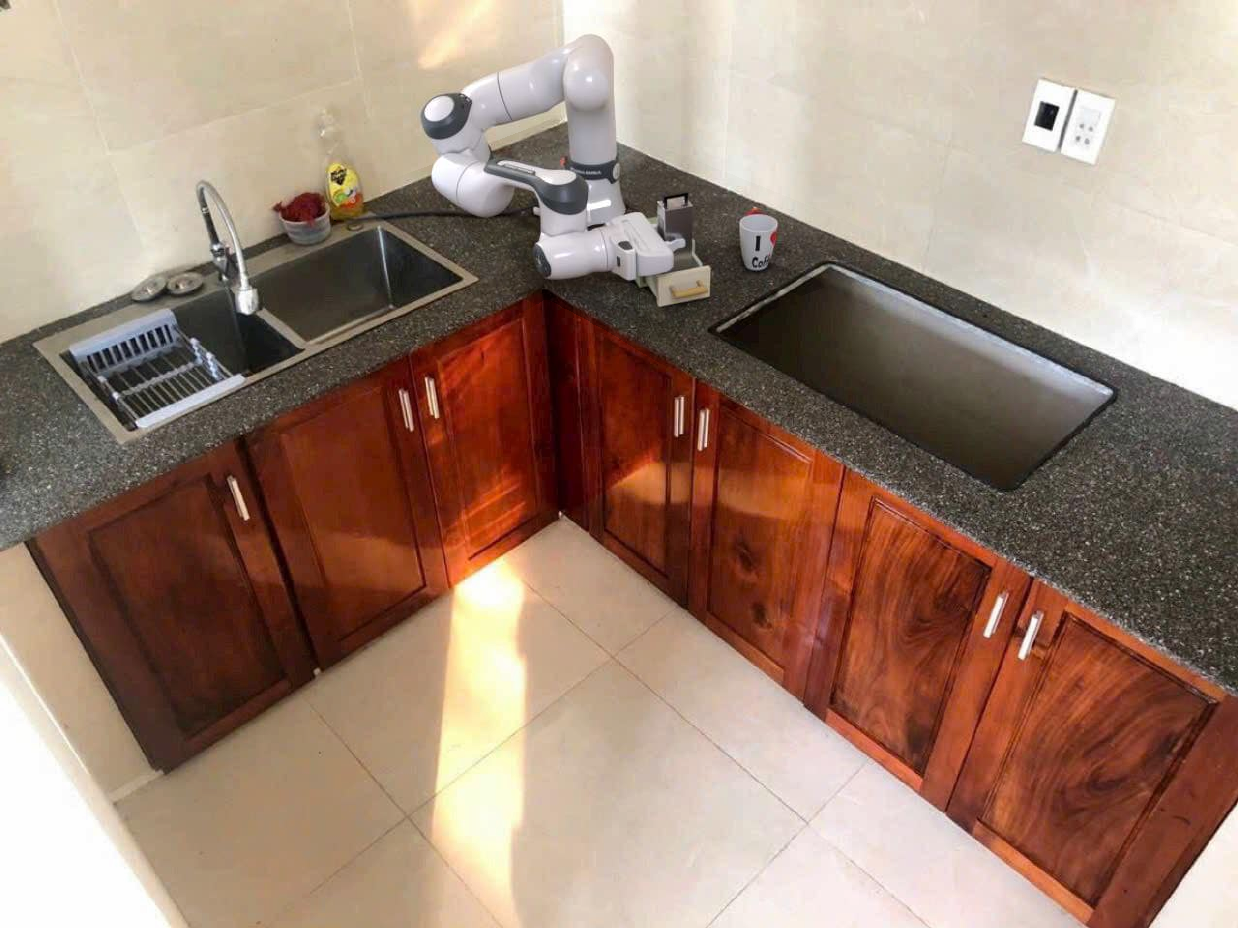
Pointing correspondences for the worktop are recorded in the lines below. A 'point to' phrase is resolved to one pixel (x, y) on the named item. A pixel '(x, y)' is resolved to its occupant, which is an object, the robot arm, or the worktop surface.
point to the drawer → (681, 284)
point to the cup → (757, 240)
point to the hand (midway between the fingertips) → (679, 235)
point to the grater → (677, 226)
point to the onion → (754, 212)
